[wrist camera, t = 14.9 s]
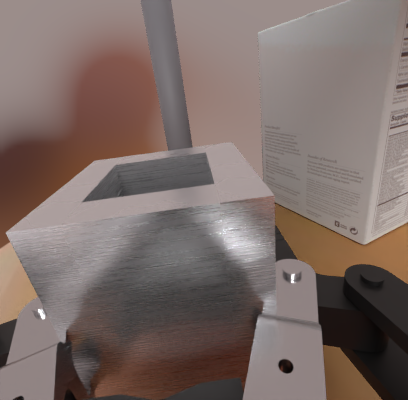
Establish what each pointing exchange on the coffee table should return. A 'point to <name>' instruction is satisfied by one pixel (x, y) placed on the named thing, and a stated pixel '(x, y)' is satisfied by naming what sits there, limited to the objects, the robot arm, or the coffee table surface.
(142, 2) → the vise
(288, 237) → the coffee table surface
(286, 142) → the supplement box
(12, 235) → the steel sleeve
